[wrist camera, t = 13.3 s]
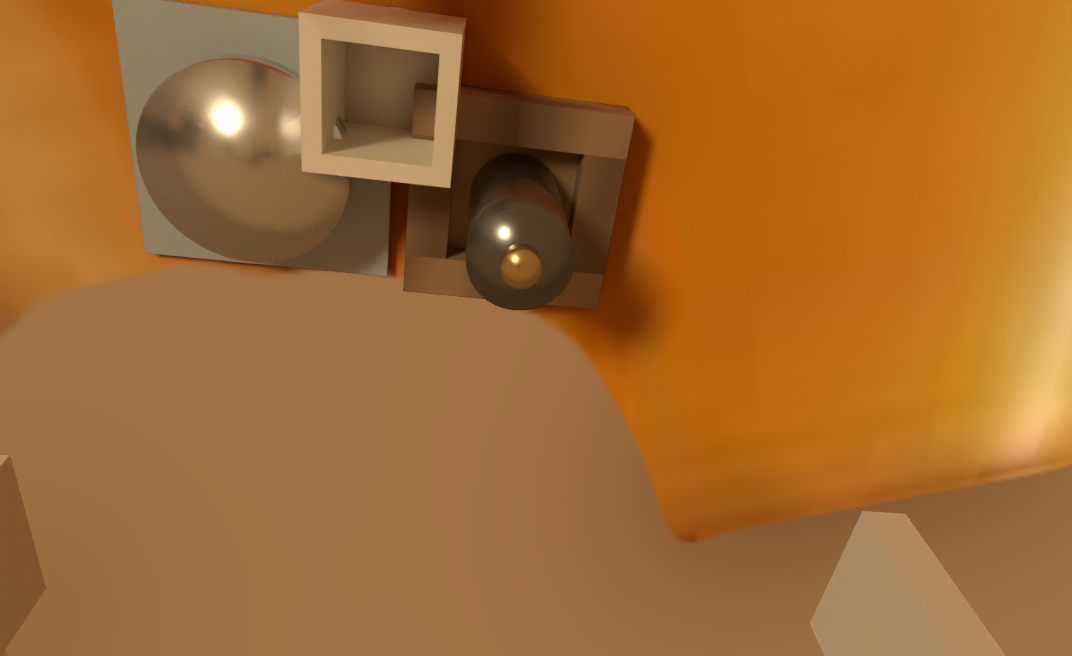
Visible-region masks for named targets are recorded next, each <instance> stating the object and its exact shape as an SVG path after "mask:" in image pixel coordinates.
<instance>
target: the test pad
mask: <svg viewBox="0 0 1072 656" xmlns="http://www.w3.org/2000/svg"><path fill="white" fill-rule="evenodd" d="M346 131H347V129H346V127H345V125H344V123H343V121H342V119H341V117H340V116H339V118H338V119H337V120H336V122H335V123H334V138H337V139H341V138H342V137H343V135H344V134H345V132H346ZM136 156H137V161H138V166H139V171H140V174H141V177H142V180H143V183H144V185H145V187H146V189H147V191H148V193H149V195H150V197H151V198H152V200H153V202H154V203H155V205H156V206H157V208H158V209H159V210H160V212H161V213H162V214H163V215H164V217H165V218H166V219H167V220H168V221H169V222H170V223H171V224H172V225H173V226H174V227H175V228H176V229H177V230H178V231H180V232H181V233H182V234H183V235H185V236H186V237H187V238H189V239H190V240H192V241H193V242H195V243H196V244H198V245H199V246H201V247H203V248H205V249H207V250H209V251H211V252H214V253H216V254H219V255H221V256H224V257H227V258H231V259H235V260H240V261H246V262H259V263H265V262H277V261H282V260H286V259H290V258H293V257H296V256H299V255H301V254H303V253H305V252H307V251H309V250H311V249H312V248H314V247H315V246H316V245H318V244H319V243H320V242H322V241H323V240H324V239H325V238H326V237H327V236H328V235H329V234H330V232H331V231H332V230H333V229H334V227H335V226H336V224H337V223H338V221H339V219H340V217H341V216H342V214H343V212H344V210H345V208H346V206H347V203H348V201H349V198H350V196H351V193H352V188H353V184H354V177H347V176H338V175H329V174H320V173H312V172H303V171H302V160H301V110H300V74H298V73H297V72H295V71H293V70H292V69H290V68H288V67H286V66H284V65H281V64H279V63H277V62H274V61H271V60H268V59H265V58H261V57H256V56H251V55H238V54H232V55H220V56H215V57H211V58H207V59H204V60H202V61H199V62H196V63H194V64H192V65H190V66H188V67H186V68H184V69H182V70H180V71H178V72H176V73H175V74H173V75H171V76H170V77H169V78H167V79H166V80H165V81H164V82H162V83H161V84H160V85H159V86H158V87H157V89H156V90H155V91H154V92H153V93H152V94H151V96H150V97H149V99H148V101H147V102H146V104H145V106H144V108H143V111H142V113H141V115H140V118H139V123H138V127H137V133H136Z"/></svg>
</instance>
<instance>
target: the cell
mask: <svg viewBox="0 0 1072 656" xmlns="http://www.w3.org/2000/svg"><path fill="white" fill-rule="evenodd" d="M574 267H575V252H574V247H573V244H572V240H571V236H570V232H569V228H568V224H567V221H566V217H565V213H564V209H563V205H562V201H561V197H560V194H559V190H558V186H557V183H556V180H555V178H554V176H553V174H552V172H551V171H550V169H549V168H548V167H547V166H546V165H545V164H544V163H543V162H541V161H540V160H538V159H537V158H535V157H533V156H530V155H527V154H523V153H506V154H502V155H499V156H496V157H494V158H492V159H491V160H489V161H488V162H486V163H485V164H484V165H483V166H482V167H481V168H480V169H479V171H478V172H477V174H476V175H475V177H474V180H473V182H472V185H471V191H470V205H469V220H468V234H467V249H466V268H467V273H468V276H469V279H470V281H471V283H472V285H473V286H474V288H475V289H476V290H477V292H478V293H479V294H480V295H481V296H482V297H483V298H485V299H486V300H487V301H489V302H491V303H492V304H494V305H497V306H499V307H502V308H505V309H510V310H529V309H534V308H537V307H540V306H543V305H545V304H547V303H549V302H551V301H552V300H554V299H555V298H556V297H557V296H559V295H560V294H561V293H562V291H563V290H564V289H565V288H566V286H567V285H568V283H569V281H570V280H571V277H572V274H573V271H574Z"/></svg>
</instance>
